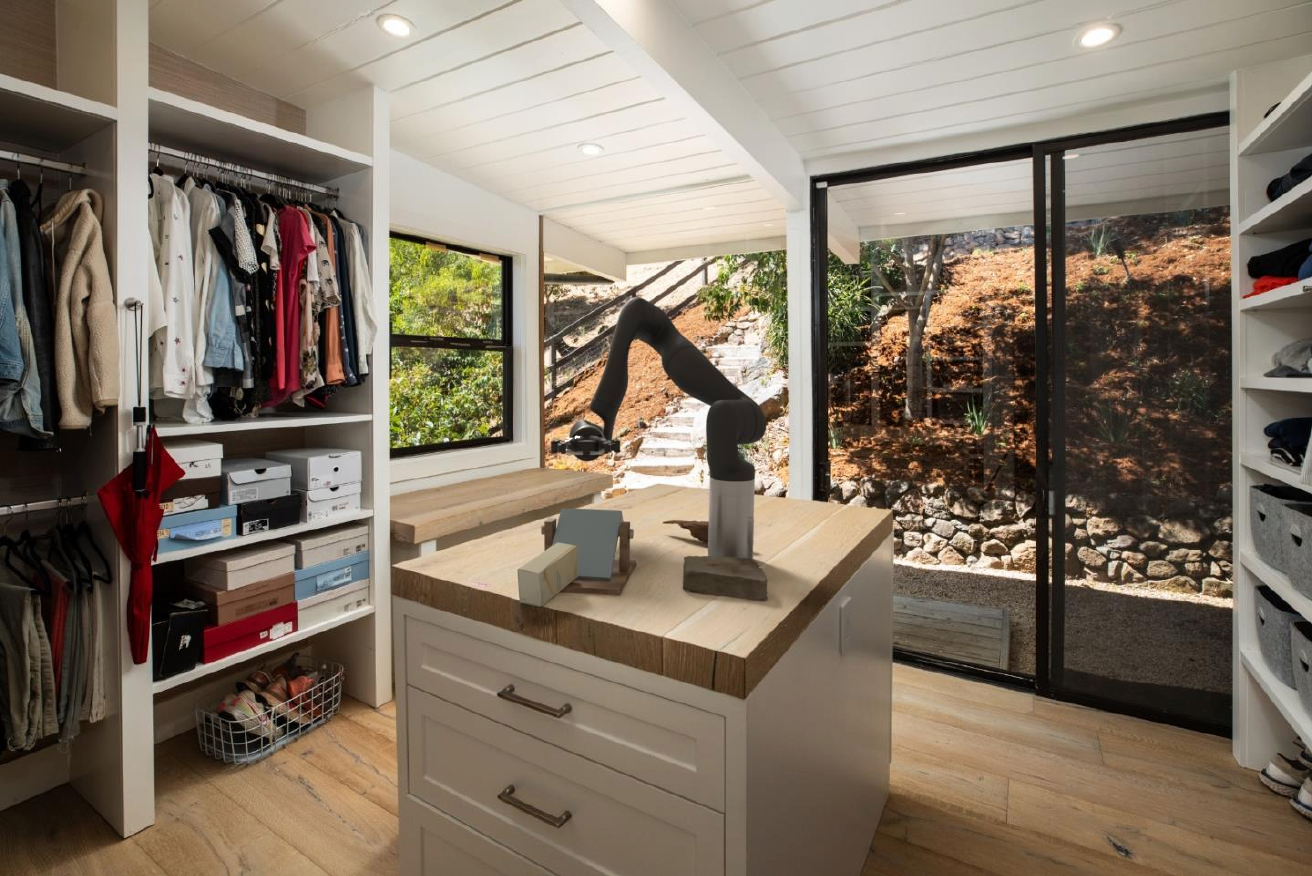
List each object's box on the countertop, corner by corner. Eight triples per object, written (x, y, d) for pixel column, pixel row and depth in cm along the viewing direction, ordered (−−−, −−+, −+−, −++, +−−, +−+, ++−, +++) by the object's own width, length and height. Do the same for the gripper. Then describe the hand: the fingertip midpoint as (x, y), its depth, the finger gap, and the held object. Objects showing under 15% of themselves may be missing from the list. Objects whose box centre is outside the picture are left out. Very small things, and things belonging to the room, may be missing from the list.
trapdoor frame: (552, 560, 138) (552, 512, 137) (638, 565, 136) (638, 516, 135) (522, 589, 119) (522, 533, 118) (621, 595, 117) (622, 538, 116)
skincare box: (579, 576, 121) (541, 608, 110) (557, 572, 123) (519, 603, 112) (577, 544, 119) (539, 573, 109) (555, 540, 121) (516, 569, 110)
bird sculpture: (668, 531, 166) (669, 511, 166) (760, 548, 151) (760, 526, 151) (652, 536, 161) (653, 515, 160) (745, 554, 146) (746, 531, 146)
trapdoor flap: (565, 521, 136) (561, 508, 133) (624, 524, 135) (621, 510, 131) (549, 587, 126) (544, 573, 123) (613, 590, 125) (610, 577, 121)
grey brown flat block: (768, 603, 115) (769, 579, 115) (681, 601, 116) (682, 577, 116) (758, 574, 132) (759, 553, 131) (682, 572, 133) (683, 551, 132)
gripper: (555, 426, 150) (548, 430, 134) (620, 425, 151) (620, 429, 135) (556, 459, 151) (548, 467, 134) (620, 459, 151) (620, 467, 135)
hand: (584, 448), depth 135 cm, fingers open, 8 cm apart
